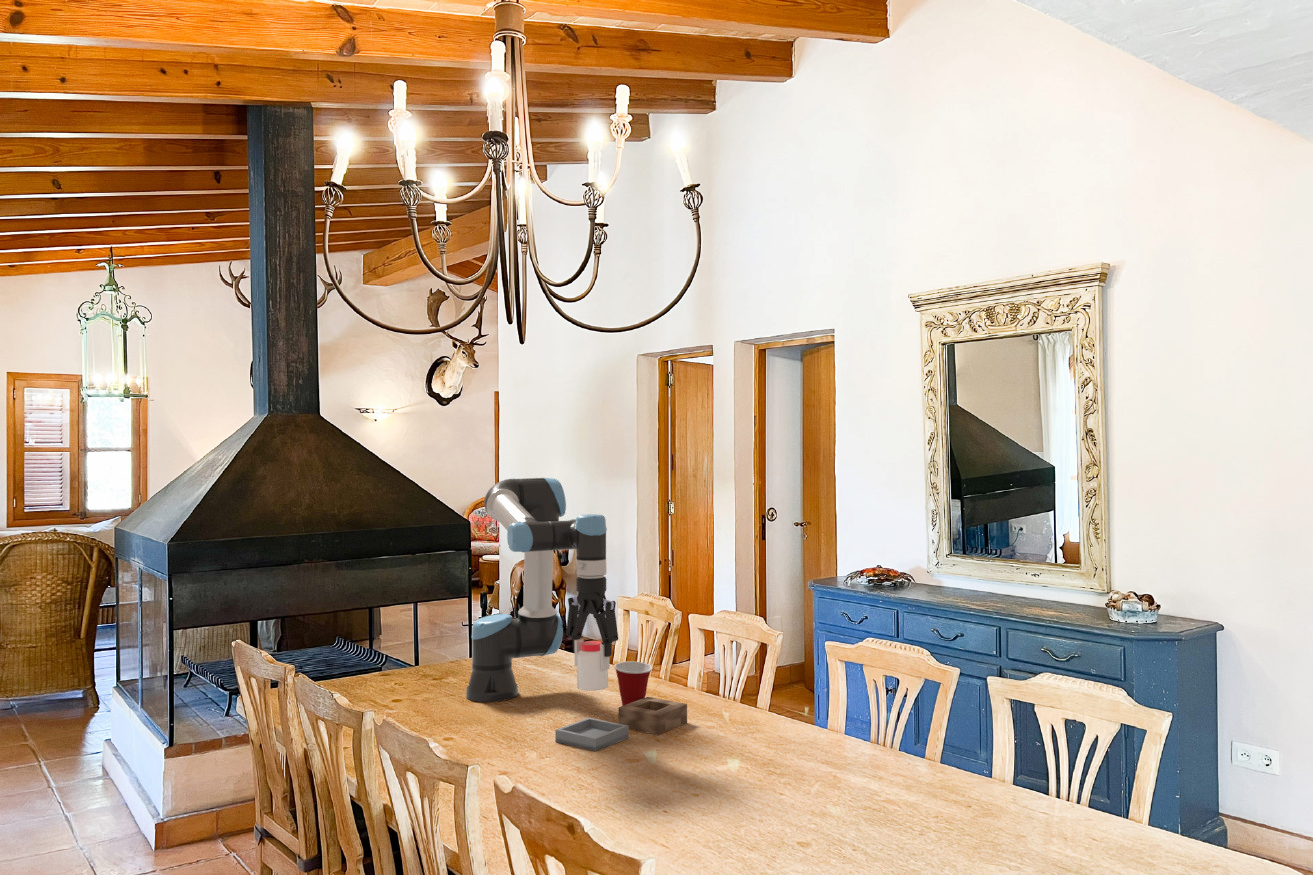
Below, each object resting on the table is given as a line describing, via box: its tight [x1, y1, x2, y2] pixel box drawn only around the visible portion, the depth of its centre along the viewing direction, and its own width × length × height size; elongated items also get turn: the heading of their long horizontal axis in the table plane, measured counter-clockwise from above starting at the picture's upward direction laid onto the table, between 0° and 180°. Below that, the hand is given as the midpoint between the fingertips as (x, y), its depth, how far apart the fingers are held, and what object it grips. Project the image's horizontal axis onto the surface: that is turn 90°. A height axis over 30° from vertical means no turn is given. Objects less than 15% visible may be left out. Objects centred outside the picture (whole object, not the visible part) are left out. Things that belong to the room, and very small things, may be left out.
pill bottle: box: [576, 640, 609, 692], centre depth 232 cm, size 8×8×11 cm
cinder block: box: [617, 696, 688, 736], centre depth 244 cm, size 13×13×5 cm
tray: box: [554, 717, 630, 752], centre depth 231 cm, size 13×13×3 cm
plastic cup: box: [613, 660, 653, 706], centre depth 260 cm, size 11×11×12 cm
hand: (592, 667), depth 232 cm, fingers closed on pill bottle, 8 cm apart
